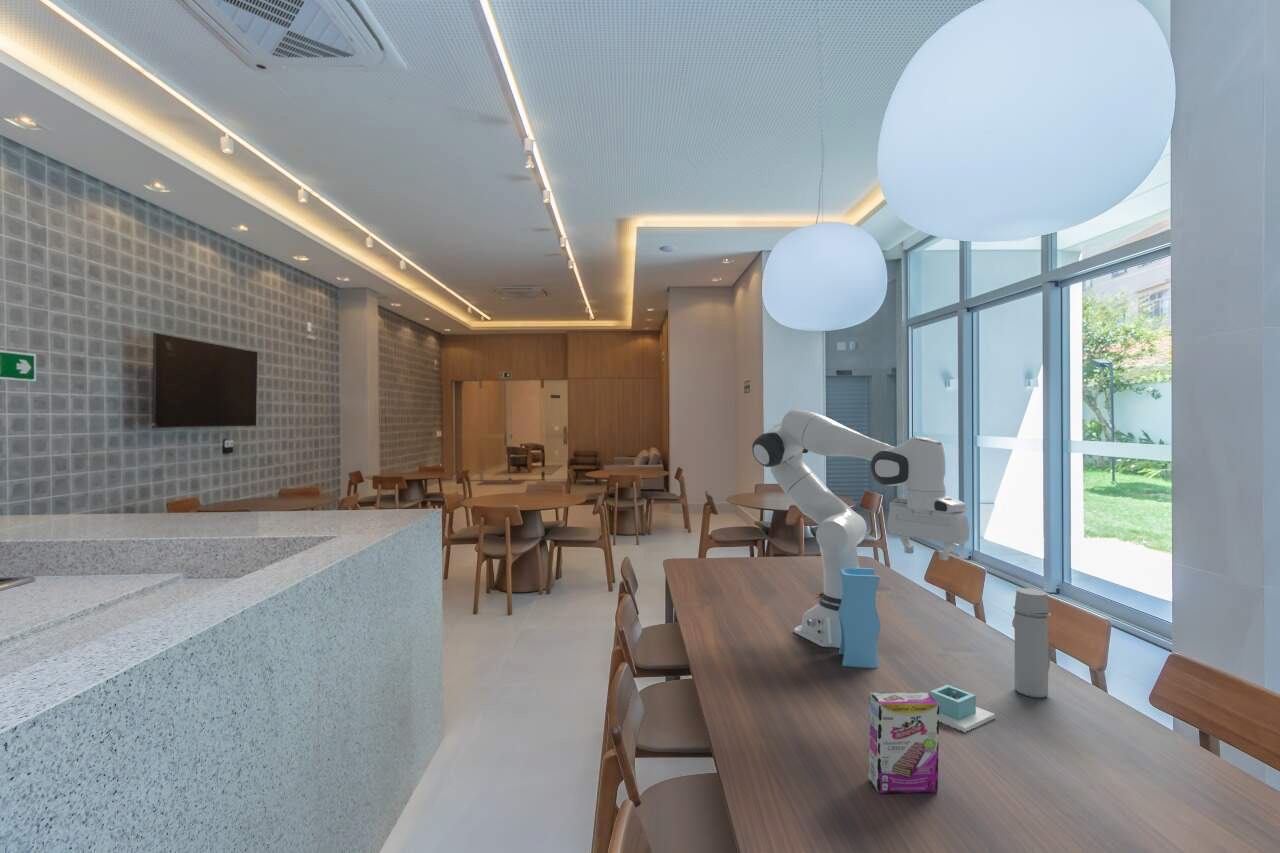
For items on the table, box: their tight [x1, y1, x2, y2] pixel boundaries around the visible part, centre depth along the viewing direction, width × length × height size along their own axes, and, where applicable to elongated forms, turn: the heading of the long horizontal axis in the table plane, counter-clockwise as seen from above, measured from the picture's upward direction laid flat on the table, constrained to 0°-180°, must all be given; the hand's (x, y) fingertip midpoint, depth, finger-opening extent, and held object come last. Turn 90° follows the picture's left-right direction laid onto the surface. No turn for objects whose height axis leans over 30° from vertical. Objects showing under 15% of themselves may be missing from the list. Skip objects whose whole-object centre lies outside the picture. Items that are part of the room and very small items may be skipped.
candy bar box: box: [867, 692, 940, 794], centre depth 113 cm, size 11×5×16 cm, turn 92°
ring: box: [929, 684, 977, 720], centre depth 141 cm, size 7×7×4 cm
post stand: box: [939, 691, 996, 733], centre depth 141 cm, size 12×12×5 cm
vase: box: [838, 567, 881, 669], centre depth 174 cm, size 10×10×25 cm
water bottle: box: [1013, 587, 1052, 699], centre depth 153 cm, size 9×8×25 cm
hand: (926, 556), depth 156 cm, fingers open, 8 cm apart
